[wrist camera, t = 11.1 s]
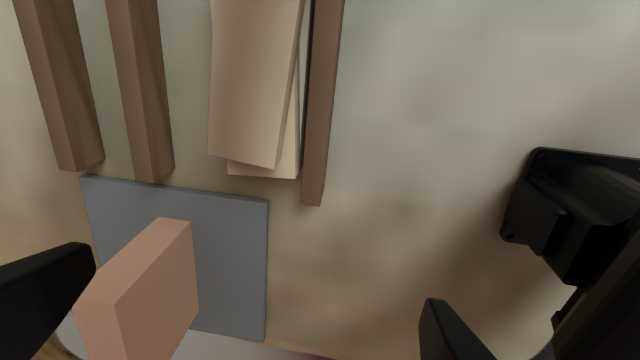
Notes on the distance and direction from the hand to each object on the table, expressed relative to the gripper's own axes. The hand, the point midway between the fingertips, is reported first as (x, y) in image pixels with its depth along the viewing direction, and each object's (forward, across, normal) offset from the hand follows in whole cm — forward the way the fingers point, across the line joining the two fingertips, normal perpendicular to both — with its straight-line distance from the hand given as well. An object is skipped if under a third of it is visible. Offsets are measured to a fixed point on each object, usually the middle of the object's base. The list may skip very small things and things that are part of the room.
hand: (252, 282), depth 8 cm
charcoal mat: (+13, +10, +12) cm, 20 cm away
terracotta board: (+12, +10, +12) cm, 20 cm away
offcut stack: (+13, +3, -4) cm, 14 cm away
